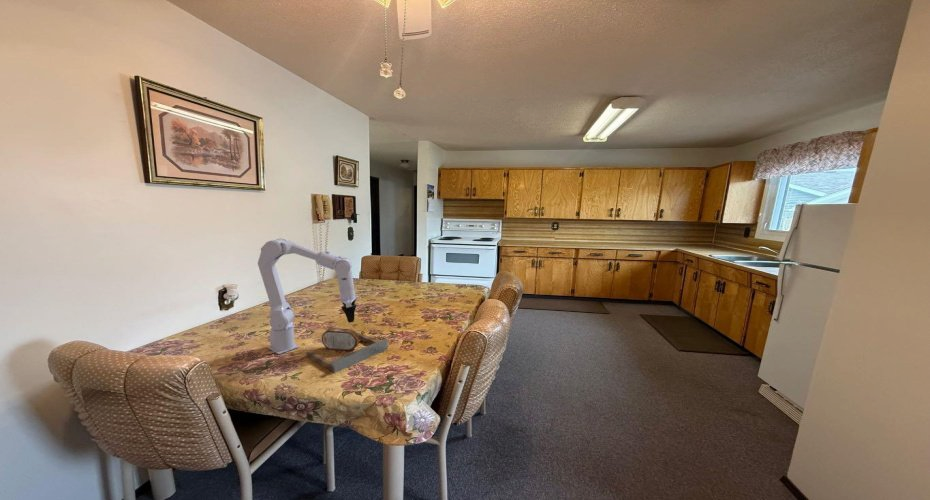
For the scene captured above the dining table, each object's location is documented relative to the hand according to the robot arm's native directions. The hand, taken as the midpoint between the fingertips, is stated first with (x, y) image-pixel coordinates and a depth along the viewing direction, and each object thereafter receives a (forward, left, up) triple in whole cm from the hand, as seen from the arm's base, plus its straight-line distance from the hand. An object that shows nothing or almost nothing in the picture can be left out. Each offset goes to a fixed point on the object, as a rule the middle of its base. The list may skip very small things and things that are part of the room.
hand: (351, 318), depth 126 cm
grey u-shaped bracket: (+6, -6, -11) cm, 14 cm away
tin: (+1, -6, -11) cm, 13 cm away
